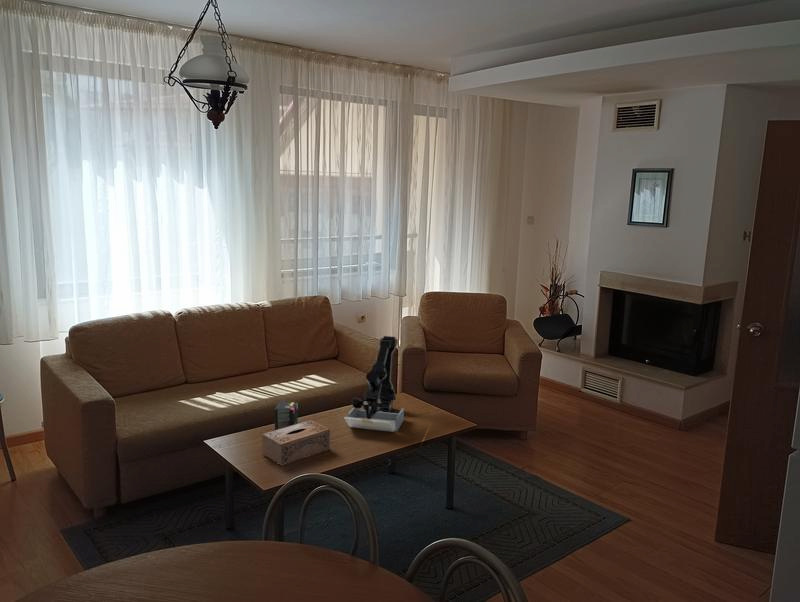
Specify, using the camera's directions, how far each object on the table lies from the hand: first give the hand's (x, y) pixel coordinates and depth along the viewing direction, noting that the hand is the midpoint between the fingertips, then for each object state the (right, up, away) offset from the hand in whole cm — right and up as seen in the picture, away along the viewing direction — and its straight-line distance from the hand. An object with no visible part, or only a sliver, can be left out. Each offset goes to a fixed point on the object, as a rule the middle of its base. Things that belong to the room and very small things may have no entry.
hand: (368, 421), depth 298 cm
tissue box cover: (-31, -11, -18) cm, 37 cm away
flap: (+2, -5, +9) cm, 10 cm away
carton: (+3, -5, +16) cm, 17 cm away
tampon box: (-39, -7, +1) cm, 39 cm away
